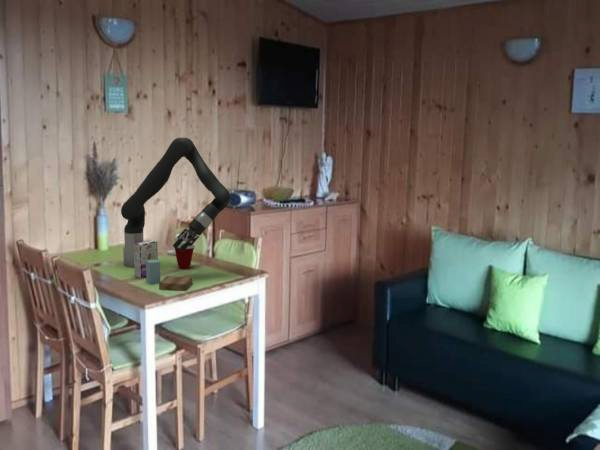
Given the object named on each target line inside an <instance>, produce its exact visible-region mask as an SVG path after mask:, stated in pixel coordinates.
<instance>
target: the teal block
mask: <svg viewBox="0 0 600 450" xmlns="http://www.w3.org/2000/svg"><path fill="white" fill-rule="evenodd" d="M145 278H146V281H145V282H146V283H147V284H149V285H155V284H156V283H157V284H159V283H160V282H161V261H160V260H159V259H158V260H147V261H146V277H145Z"/></svg>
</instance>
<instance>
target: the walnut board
mask: <svg viewBox="0 0 600 450" xmlns="http://www.w3.org/2000/svg"><path fill="white" fill-rule="evenodd" d="M192 285H193V277H192V276H177V275H176V276H175V275H174V276H173V275H166V276H165V277H164V278H163V279H162V280H160V283H158V290H159V289H163V290H162V291H178V290H180V291H181V292H186V291H187V290H188V289H190V287H191V286H192Z"/></svg>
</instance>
